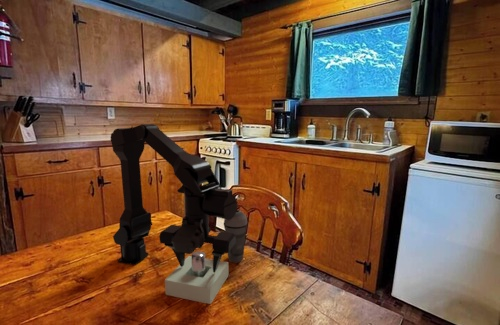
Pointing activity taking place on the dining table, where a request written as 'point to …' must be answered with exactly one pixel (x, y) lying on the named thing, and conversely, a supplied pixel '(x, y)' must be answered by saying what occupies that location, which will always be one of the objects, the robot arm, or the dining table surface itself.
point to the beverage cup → (237, 235)
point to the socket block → (196, 281)
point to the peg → (198, 264)
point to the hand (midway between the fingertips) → (198, 268)
